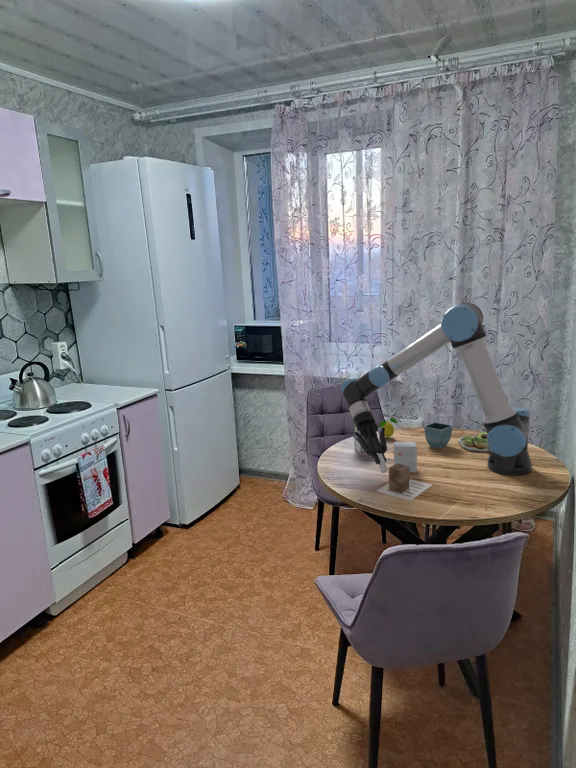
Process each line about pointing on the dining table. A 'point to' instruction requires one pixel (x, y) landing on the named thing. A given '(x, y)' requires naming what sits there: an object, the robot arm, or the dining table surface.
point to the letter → (409, 494)
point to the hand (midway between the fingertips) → (385, 471)
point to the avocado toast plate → (476, 442)
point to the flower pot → (438, 434)
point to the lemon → (388, 427)
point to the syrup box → (357, 445)
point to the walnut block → (399, 478)
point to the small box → (406, 454)
